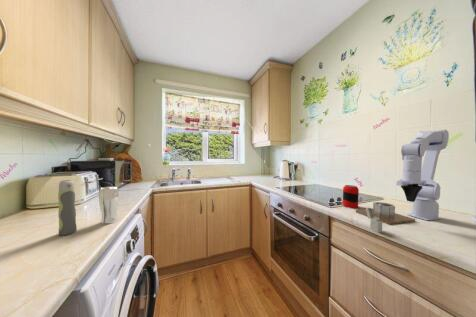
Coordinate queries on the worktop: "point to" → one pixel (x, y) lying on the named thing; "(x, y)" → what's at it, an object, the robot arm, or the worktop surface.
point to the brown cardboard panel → (386, 214)
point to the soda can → (350, 196)
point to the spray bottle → (67, 208)
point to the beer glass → (108, 204)
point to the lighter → (374, 221)
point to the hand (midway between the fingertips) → (410, 201)
